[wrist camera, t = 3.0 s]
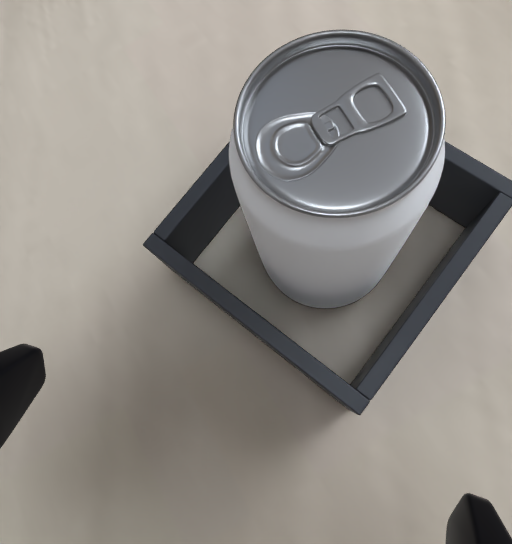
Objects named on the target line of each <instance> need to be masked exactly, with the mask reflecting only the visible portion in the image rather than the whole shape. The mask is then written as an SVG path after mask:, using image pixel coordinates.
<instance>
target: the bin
mask: <svg viewBox="0 0 512 544" xmlns="http://www.w3.org/2000/svg"><path fill="white" fill-rule="evenodd" d="M229 143H230V142H229ZM229 143H228V144H227V145H226V146H225V147H224V149H223V150H222V151H221V152H220V153H219V155H218V156H217V157H216V158H215V159H214V161H213V162H212V163H211V164H210V165H209V167H208V168H207V169H206V170H205V171H204V172H203V174H202V175H201V176H200V177H199V178H198V180H197V181H196V182H195V183H194V184H193V186H192V187H191V188H190V189H189V190H188V192H187V193H186V194H185V195H184V196H183V197H182V199H181V200H180V201H179V202H178V203H177V205H176V206H175V207H174V208H173V209H172V211H171V212H170V213H169V214H168V215H167V217H166V218H165V219H164V220H163V221H162V222H161V224H160V225H159V226H158V227H157V228H156V230H155V231H154V233H152V234H151V235H150V236H149V238H148V239H147V240H146V241H145V242H144V244H143V246H144V247H146V248H147V249H148V250H149V251H150V252H151V253H152V254H154V255H155V256H156V257H157V258H158V259H159V260H161V261H162V262H163V263H164V264H165V265H166V266H168V267H169V268H170V269H171V270H172V271H174V272H175V273H176V274H177V275H179V276H180V277H181V278H182V279H184V280H185V281H186V282H188V283H189V284H190V285H191V286H193V287H194V288H195V289H196V290H198V291H199V292H200V293H201V294H203V295H204V296H205V297H207V298H208V299H209V300H210V301H212V302H213V303H214V304H215V305H217V306H218V307H219V308H220V309H222V310H223V311H224V312H226V313H227V314H228V315H229V316H231V317H232V318H233V319H234V320H236V321H237V322H238V323H240V324H241V325H242V326H243V327H245V328H246V329H247V330H248V331H250V332H251V333H252V334H253V335H255V336H256V337H257V338H259V339H260V340H261V341H262V342H264V343H265V344H266V345H267V346H269V347H270V348H271V349H272V350H274V351H275V352H276V353H278V354H279V355H280V356H281V357H283V358H284V359H285V360H286V361H288V362H289V363H290V364H292V365H293V366H294V367H295V368H297V369H298V370H299V371H300V372H302V373H303V374H304V375H305V376H307V377H308V378H309V379H311V380H312V381H313V382H314V383H316V384H317V385H318V386H319V387H321V388H322V389H323V390H324V391H326V392H327V393H328V394H330V395H331V396H332V397H333V398H335V399H336V400H337V401H338V402H340V403H341V404H342V405H343V406H345V407H346V408H347V409H349V410H350V411H352V412H354V413H356V414H358V415H361V413H362V412H363V411H364V409H365V408H366V406H367V405H368V404H369V402H370V401H369V400H372V398H373V397H374V395H375V394H376V393H377V391H378V390H379V389H380V387H381V386H382V384H383V383H384V382H385V380H386V379H387V378H388V376H389V375H390V373H391V372H392V371H393V369H394V368H395V367H396V365H397V364H398V362H399V361H400V360H401V358H402V357H403V355H404V354H405V353H406V351H407V350H408V349H409V347H410V346H411V344H412V343H413V342H414V340H415V339H416V338H417V336H418V335H419V333H420V332H421V331H422V329H423V328H424V327H425V325H426V324H427V322H428V321H429V320H430V318H431V317H432V315H433V314H434V313H435V311H436V310H437V309H438V307H439V306H440V304H441V303H442V302H443V300H444V299H445V298H446V296H447V295H448V293H449V292H450V291H451V289H452V288H453V287H454V285H455V284H456V282H457V281H458V280H459V278H460V277H461V275H462V274H463V273H464V271H465V270H466V269H467V267H468V266H469V264H470V263H471V262H472V260H473V259H474V258H475V256H476V255H477V253H478V252H479V251H480V249H481V248H482V247H483V245H484V244H485V242H486V241H487V240H488V238H489V237H490V235H491V234H492V233H493V231H494V230H495V229H496V227H497V226H498V224H499V223H500V222H501V220H502V219H503V218H504V216H505V215H506V213H507V212H508V211H509V209H510V208H511V207H512V181H511V180H510V179H508V178H506V177H505V176H503V175H501V174H499V173H498V172H496V171H494V170H493V169H491V168H489V167H488V166H486V165H484V164H483V163H481V162H479V161H477V160H476V159H474V158H472V157H471V156H469V155H467V154H466V153H464V152H462V151H461V150H459V149H457V148H455V147H454V146H452V145H450V144H449V143H447V142H445V158H444V165H443V170H442V174H441V177H440V180H439V183H438V186H437V188H436V191H435V193H434V195H433V197H432V199H431V200H430V202H429V205H431V206H432V207H434V208H436V209H437V210H439V211H440V212H442V213H444V214H445V215H447V216H448V217H450V218H451V219H453V220H455V221H456V222H458V223H459V224H461V225H462V226H464V227H466V228H465V229H464V231H463V232H462V233H461V235H460V236H459V237H458V239H457V240H456V242H455V243H454V244H453V246H452V247H451V248H450V250H449V251H448V252H447V254H446V255H445V257H444V258H443V259H442V261H441V262H440V263H439V265H438V266H437V267H436V269H435V270H434V271H433V273H432V274H431V276H430V277H429V278H428V280H427V281H426V282H425V284H424V285H423V286H422V288H421V289H420V291H419V292H418V293H417V295H416V296H415V297H414V299H413V300H412V301H411V303H410V304H409V305H408V307H407V308H406V310H405V311H404V312H403V314H402V315H401V316H400V318H399V319H398V320H397V322H396V323H395V325H394V326H393V327H392V329H391V330H390V331H389V333H388V334H387V335H386V337H385V338H384V339H383V341H382V342H381V344H380V345H379V346H378V348H377V349H376V350H375V352H374V353H373V354H372V356H371V357H370V359H369V360H368V361H367V363H366V364H365V365H364V367H363V368H362V369H361V371H360V372H359V373H358V375H357V376H356V378H355V379H354V380H353V382H352V383H351V384H350V385H349V384H348V383H347V382H345V381H344V380H343V379H342V378H340V377H339V376H338V375H336V374H335V373H334V372H332V371H331V370H330V369H329V368H327V367H326V366H325V365H323V364H322V363H321V362H320V361H318V360H317V359H316V358H314V357H313V356H312V355H310V354H309V353H308V352H307V351H305V350H304V349H303V348H301V347H300V346H299V345H298V344H296V343H295V342H294V341H292V340H291V339H290V338H288V337H287V336H286V335H285V334H283V333H282V332H281V331H279V330H278V329H277V328H276V327H274V326H273V325H272V324H270V323H269V322H268V321H266V320H265V319H264V318H263V317H261V316H260V315H259V314H257V313H256V312H255V311H254V310H252V309H251V308H250V307H248V306H247V305H246V304H244V303H243V302H242V301H241V300H239V299H238V298H237V297H235V296H234V295H233V294H232V293H230V292H229V291H228V290H226V289H225V288H224V287H222V286H221V285H220V284H219V283H217V282H216V281H215V280H213V279H212V278H211V277H210V276H208V275H207V274H206V273H204V272H203V271H202V270H200V269H199V268H198V267H197V266H195V265H194V264H193V262H194V261H195V260H196V258H197V257H198V256H199V255H200V253H201V252H202V251H203V250H204V249H205V247H206V246H207V245H208V244H209V242H210V241H211V240H212V239H213V238H214V236H215V235H216V234H217V233H218V231H219V230H220V229H221V228H222V227H223V225H224V224H225V223H226V222H227V220H228V219H229V218H230V217H231V216H232V214H233V213H234V212H235V211H236V209H237V208H238V207H239V206H240V203H239V200H238V197H237V194H236V191H235V188H234V184H233V181H232V177H231V172H230V164H229Z"/></svg>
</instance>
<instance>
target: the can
mask: <svg viewBox="0 0 512 544" xmlns="http://www.w3.org/2000/svg"><path fill="white" fill-rule="evenodd" d="M445 124H446V118H445V108H444V103H443V99H442V95H441V93H440V90H439V88H438V85H437V83H436V81H435V80H434V78H433V76H432V75H431V73H430V72H429V70H428V69H427V68H426V67H425V65H424V64H423V63H422V62H421V61H420V60H419V59H418V58H417V57H416V56H415V55H413V54H412V53H411V52H410V51H408V50H407V49H406V48H404V47H402V46H401V45H399V44H397V43H395V42H394V41H391V40H389V39H387V38H384V37H382V36H379V35H376V34H372V33H368V32H363V31H356V30H329V31H322V32H317V33H313V34H309V35H306V36H303V37H300V38H297V39H295V40H293V41H291V42H289V43H287V44H285V45H283V46H281V47H280V48H278V49H277V50H275V51H274V52H272V53H271V54H270V55H269V56H267V57H266V58H265V59H264V60H263V61H262V62H261V63H260V64H259V65H258V66H257V67H256V68H255V70H254V71H253V72H252V73H251V75H250V76H249V78H248V79H247V81H246V82H245V84H244V86H243V88H242V90H241V92H240V95H239V97H238V100H237V104H236V107H235V112H234V121H233V129H232V132H231V137H230V143H229V164H230V172H231V177H232V181H233V184H234V188H235V191H236V194H237V197H238V200H239V203H240V205H241V208H242V211H243V213H244V216H245V219H246V222H247V224H248V227H249V230H250V232H251V235H252V237H253V240H254V243H255V245H256V248H257V251H258V253H259V256H260V258H261V261H262V263H263V265H264V268H265V270H266V272H267V273H268V275H269V277H270V278H271V280H272V281H273V282H274V284H275V285H276V286H277V287H278V288H279V289H280V290H281V291H282V292H283V293H284V294H285V295H286V296H288V297H289V298H291V299H292V300H294V301H296V302H298V303H301V304H303V305H306V306H310V307H315V308H336V307H341V306H345V305H348V304H351V303H353V302H355V301H357V300H359V299H361V298H362V297H364V296H365V295H366V294H368V293H369V292H370V291H371V290H372V289H373V288H374V287H375V286H376V285H377V284H378V282H379V281H380V280H381V278H382V277H383V275H384V274H385V272H386V271H387V269H388V268H389V266H390V265H391V263H392V262H393V260H394V259H395V257H396V256H397V254H398V252H399V251H400V249H401V248H402V246H403V245H404V243H405V241H406V240H407V238H408V237H409V235H410V234H411V232H412V230H413V229H414V227H415V226H416V224H417V222H418V221H419V219H420V217H421V216H422V214H423V213H424V211H425V209H426V208H427V206H428V204H429V202H430V200H431V199H432V197H433V195H434V193H435V191H436V188H437V186H438V183H439V180H440V177H441V174H442V170H443V165H444V158H445V141H444V134H445Z"/></svg>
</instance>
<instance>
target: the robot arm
mask: <svg viewBox="0 0 512 544" xmlns="http://www.w3.org/2000/svg"><path fill="white" fill-rule="evenodd" d="M45 377H46V373H45V366H44V359H43V353H42V351H41V349H39V348H37V347H34V346H31V345H28V344H20V345H17V346H14V347H12V348H9V349H7V350H4V351H2V352H0V448H1V447H2V446H3V444H4V443H5V441H6V440H7V439H8V437H9V436H10V434H11V433H12V431H13V430H14V428H15V427H16V425H17V424H18V422H19V421H20V419H21V418H22V416H23V415H24V413H25V412H26V410H27V409H28V407H29V406H30V404H31V403H32V401H33V400H34V398H35V397H36V395H37V394H38V392H39V391H40V389H41V388H42V386H43V384H44V382H45ZM446 544H512V538H511V537H510V535H509V533H508V531H507V530H506V528H505V526H504V524H503V523H502V521H501V519H500V517H499V516H498V514H497V512H496V510H495V509H494V507H493V505H492V504H491V503H490V502H489V501H488V500H487V499H485V498H482V497H479V496H476V495H473V494H470V493H467V494H464V495H463V497H462V498H461V500H460V501H459V503H458V504H457V506H456V507H455V509H454V511H453V512H452V514H451V515H450V517H449V520H448V524H447V531H446Z"/></svg>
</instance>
